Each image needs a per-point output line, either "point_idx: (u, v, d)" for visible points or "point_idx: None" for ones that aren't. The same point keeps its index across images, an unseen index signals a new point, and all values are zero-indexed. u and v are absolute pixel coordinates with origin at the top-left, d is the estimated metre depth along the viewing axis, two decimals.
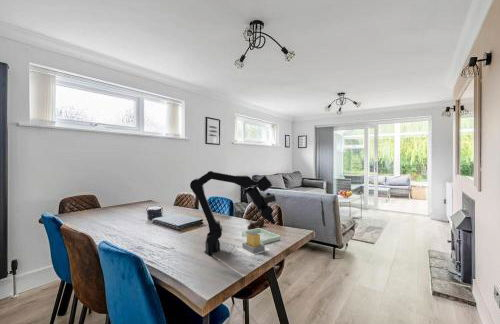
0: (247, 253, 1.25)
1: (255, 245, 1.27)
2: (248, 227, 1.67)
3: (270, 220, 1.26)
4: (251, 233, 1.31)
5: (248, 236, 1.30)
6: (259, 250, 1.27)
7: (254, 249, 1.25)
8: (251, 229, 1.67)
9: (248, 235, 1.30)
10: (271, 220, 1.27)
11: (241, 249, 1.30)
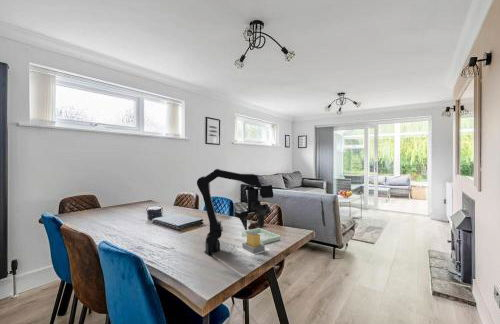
0: (247, 253, 1.25)
1: (255, 245, 1.27)
2: (249, 227, 1.67)
3: (243, 224, 1.27)
4: (251, 233, 1.31)
5: (248, 236, 1.30)
6: (259, 250, 1.27)
7: (254, 249, 1.25)
8: None
9: (248, 235, 1.30)
10: (244, 225, 1.27)
11: (241, 249, 1.30)
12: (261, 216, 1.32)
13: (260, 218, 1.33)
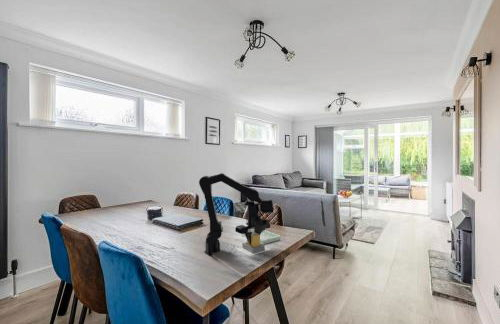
0: (247, 253, 1.25)
1: (255, 245, 1.27)
2: None
3: (247, 239, 1.29)
4: None
5: None
6: (259, 250, 1.27)
7: (254, 249, 1.25)
8: None
9: None
10: (248, 239, 1.29)
11: (241, 249, 1.30)
12: (257, 232, 1.31)
13: None
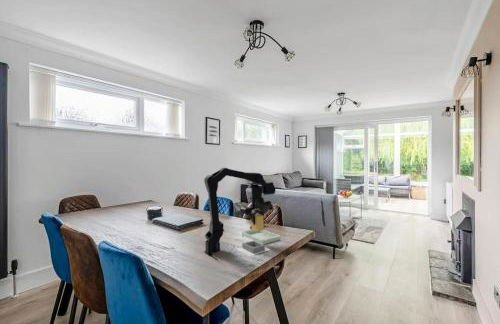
0: (247, 253, 1.25)
1: (259, 225, 1.35)
2: None
3: (251, 219, 1.37)
4: None
5: None
6: (259, 250, 1.27)
7: (254, 249, 1.25)
8: None
9: None
10: (252, 220, 1.37)
11: (241, 249, 1.30)
12: (261, 213, 1.39)
13: None
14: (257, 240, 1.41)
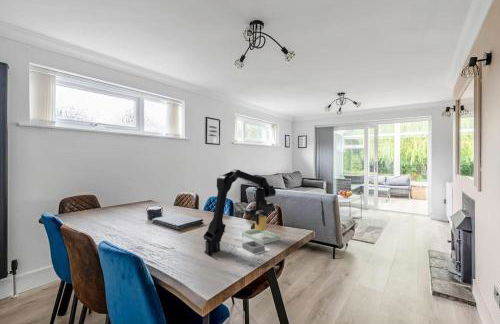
0: (247, 253, 1.25)
1: (262, 225, 1.46)
2: None
3: (255, 220, 1.48)
4: None
5: None
6: (259, 250, 1.27)
7: (254, 249, 1.25)
8: None
9: None
10: (256, 221, 1.48)
11: (241, 249, 1.30)
12: (264, 214, 1.50)
13: None
14: (257, 240, 1.41)
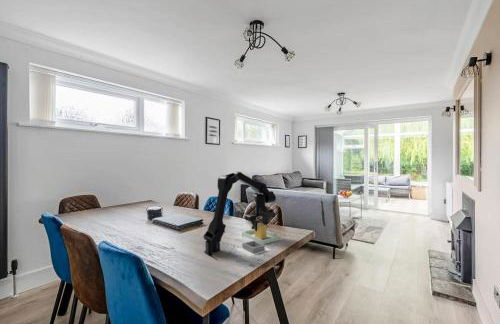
0: (247, 253, 1.25)
1: (262, 234, 1.47)
2: None
3: (254, 226, 1.48)
4: (258, 224, 1.50)
5: None
6: (259, 250, 1.27)
7: (254, 249, 1.25)
8: None
9: None
10: (254, 227, 1.47)
11: (241, 249, 1.30)
12: (265, 220, 1.51)
13: (265, 221, 1.51)
14: (257, 240, 1.41)
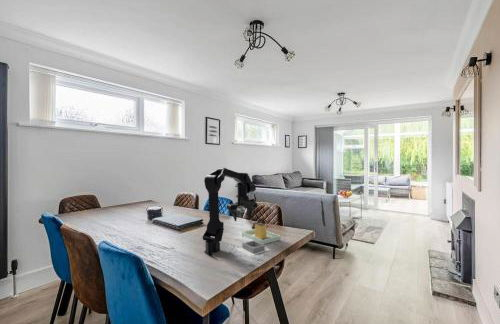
0: (247, 253, 1.25)
1: (262, 234, 1.47)
2: (253, 227, 1.66)
3: (233, 216, 1.47)
4: (258, 224, 1.50)
5: (256, 226, 1.49)
6: (259, 250, 1.27)
7: (254, 249, 1.25)
8: None
9: (256, 226, 1.49)
10: (234, 217, 1.47)
11: (241, 249, 1.30)
12: (249, 210, 1.52)
13: (249, 211, 1.52)
14: (257, 240, 1.41)
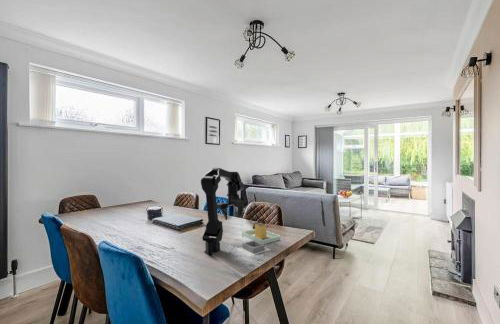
0: (247, 253, 1.25)
1: (262, 234, 1.47)
2: None
3: (224, 215, 1.47)
4: (258, 224, 1.50)
5: (256, 226, 1.49)
6: (259, 250, 1.27)
7: (254, 249, 1.25)
8: None
9: (256, 226, 1.49)
10: (224, 216, 1.47)
11: (241, 249, 1.30)
12: (240, 208, 1.52)
13: (239, 210, 1.53)
14: (257, 240, 1.41)
